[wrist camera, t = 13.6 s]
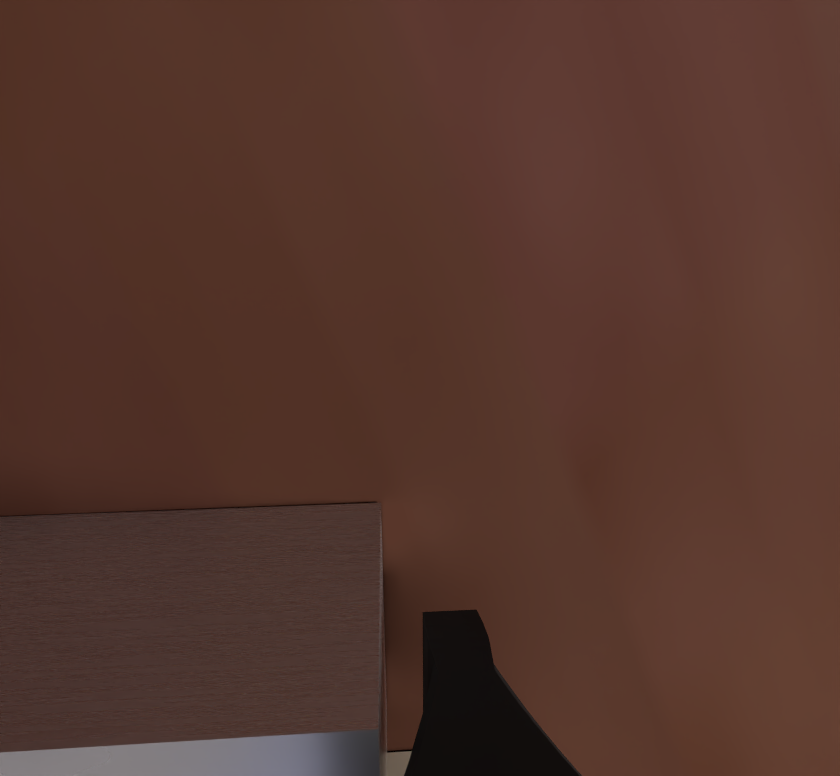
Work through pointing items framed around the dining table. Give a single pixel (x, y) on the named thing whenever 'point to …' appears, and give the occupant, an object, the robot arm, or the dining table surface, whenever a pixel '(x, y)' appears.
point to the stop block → (194, 643)
